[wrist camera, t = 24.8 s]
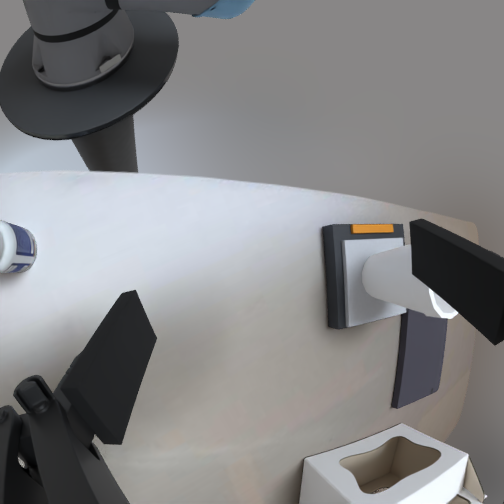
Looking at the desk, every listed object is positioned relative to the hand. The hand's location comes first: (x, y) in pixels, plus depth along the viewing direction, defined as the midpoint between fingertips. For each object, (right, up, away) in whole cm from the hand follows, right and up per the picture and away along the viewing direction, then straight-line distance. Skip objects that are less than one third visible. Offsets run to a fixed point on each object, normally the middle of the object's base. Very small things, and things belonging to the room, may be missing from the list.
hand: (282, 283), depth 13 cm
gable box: (+17, -38, +29) cm, 50 cm away
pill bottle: (-29, +2, +15) cm, 33 cm away
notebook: (+30, -16, +34) cm, 48 cm away
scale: (+16, -2, +30) cm, 34 cm away
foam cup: (+16, -2, +27) cm, 32 cm away
